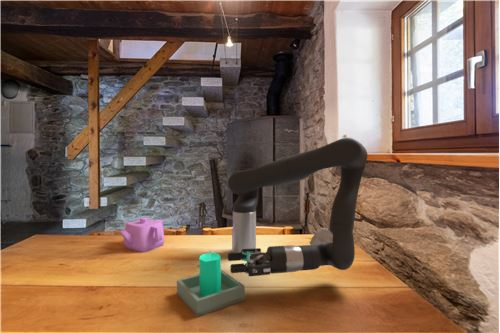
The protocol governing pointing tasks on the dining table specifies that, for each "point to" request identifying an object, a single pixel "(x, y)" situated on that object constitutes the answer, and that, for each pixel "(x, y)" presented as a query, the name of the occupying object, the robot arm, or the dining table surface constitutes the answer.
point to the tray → (202, 305)
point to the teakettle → (143, 234)
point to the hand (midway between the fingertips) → (229, 262)
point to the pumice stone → (322, 236)
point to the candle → (209, 274)
